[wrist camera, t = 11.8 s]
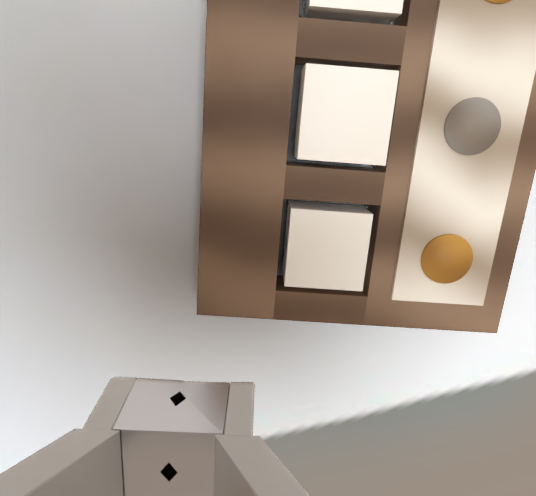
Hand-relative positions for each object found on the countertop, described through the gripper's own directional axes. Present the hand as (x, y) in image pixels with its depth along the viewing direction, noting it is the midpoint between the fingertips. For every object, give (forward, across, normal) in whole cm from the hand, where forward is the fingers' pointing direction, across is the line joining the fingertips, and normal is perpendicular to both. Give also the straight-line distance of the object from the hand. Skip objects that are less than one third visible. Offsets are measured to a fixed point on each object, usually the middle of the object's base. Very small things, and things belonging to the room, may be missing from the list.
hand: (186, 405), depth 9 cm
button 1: (+21, -6, +2) cm, 21 cm away
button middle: (+20, -6, -6) cm, 22 cm away
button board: (+21, -8, -6) cm, 23 cm away
